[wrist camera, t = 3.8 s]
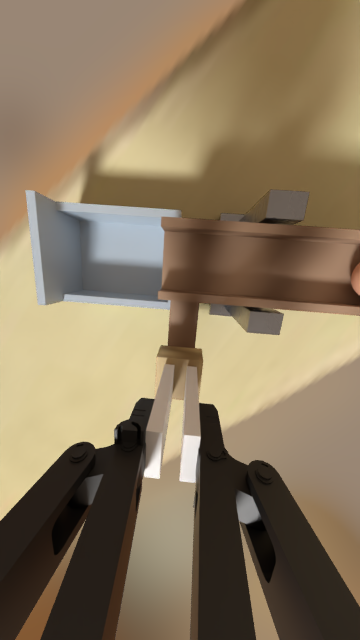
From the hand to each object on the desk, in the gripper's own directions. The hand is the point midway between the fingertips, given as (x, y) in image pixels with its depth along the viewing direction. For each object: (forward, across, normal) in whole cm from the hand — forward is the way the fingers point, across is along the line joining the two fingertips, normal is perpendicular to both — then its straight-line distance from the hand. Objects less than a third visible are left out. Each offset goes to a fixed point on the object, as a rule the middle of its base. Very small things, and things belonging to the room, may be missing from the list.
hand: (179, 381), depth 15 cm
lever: (+4, +7, +5) cm, 9 cm away
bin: (+10, -7, +9) cm, 15 cm away
